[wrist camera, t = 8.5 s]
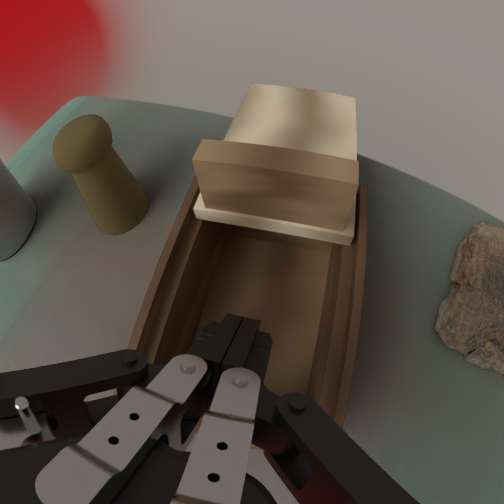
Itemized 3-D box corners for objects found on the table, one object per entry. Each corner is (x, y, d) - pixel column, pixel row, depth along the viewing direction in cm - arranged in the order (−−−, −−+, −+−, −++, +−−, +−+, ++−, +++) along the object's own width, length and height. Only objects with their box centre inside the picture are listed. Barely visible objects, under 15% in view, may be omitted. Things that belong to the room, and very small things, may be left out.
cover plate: (196, 218, 19) (177, 161, 14) (251, 92, 25) (249, 45, 21) (349, 245, 17) (373, 191, 13) (353, 106, 24) (362, 60, 20)
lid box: (161, 407, 19) (110, 404, 12) (218, 225, 27) (202, 160, 20) (309, 443, 18) (333, 464, 11) (343, 247, 25) (367, 186, 18)
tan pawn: (150, 224, 27) (104, 136, 18) (95, 242, 27) (35, 166, 17) (146, 179, 30) (110, 95, 20) (96, 196, 30) (50, 121, 20)
